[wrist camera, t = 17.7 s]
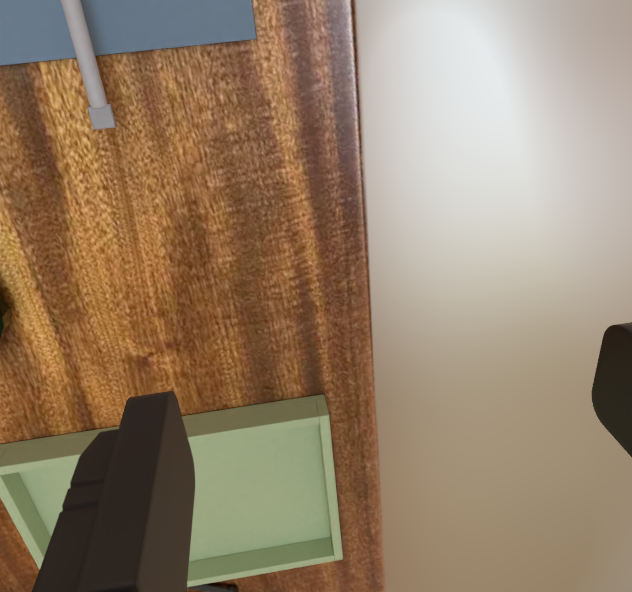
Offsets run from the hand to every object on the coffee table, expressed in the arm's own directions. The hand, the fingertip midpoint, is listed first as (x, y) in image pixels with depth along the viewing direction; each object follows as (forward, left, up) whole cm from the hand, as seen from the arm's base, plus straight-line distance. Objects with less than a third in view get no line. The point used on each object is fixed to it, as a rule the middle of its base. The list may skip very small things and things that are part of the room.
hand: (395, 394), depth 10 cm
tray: (+12, +30, -26) cm, 42 cm away
